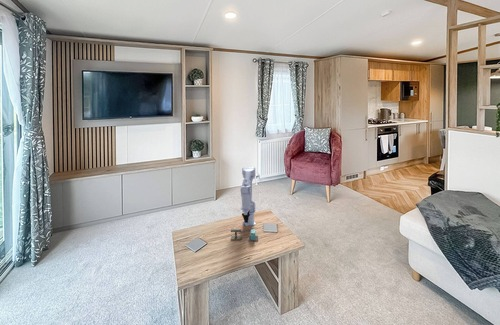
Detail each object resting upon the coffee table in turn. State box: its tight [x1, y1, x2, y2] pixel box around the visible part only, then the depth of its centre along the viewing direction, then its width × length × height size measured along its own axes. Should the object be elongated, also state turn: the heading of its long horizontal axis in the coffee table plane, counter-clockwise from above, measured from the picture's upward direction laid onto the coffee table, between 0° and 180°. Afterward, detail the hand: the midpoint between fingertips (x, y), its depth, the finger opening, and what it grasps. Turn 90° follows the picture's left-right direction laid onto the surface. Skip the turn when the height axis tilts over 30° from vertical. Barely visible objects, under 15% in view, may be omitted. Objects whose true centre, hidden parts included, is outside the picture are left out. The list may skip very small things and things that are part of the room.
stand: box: [230, 228, 242, 241], centre depth 182 cm, size 5×7×7 cm
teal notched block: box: [250, 228, 256, 240], centre depth 181 cm, size 5×3×5 cm, turn 177°
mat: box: [248, 235, 259, 242], centre depth 182 cm, size 6×6×1 cm
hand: (246, 220), depth 187 cm, fingers open, 7 cm apart
